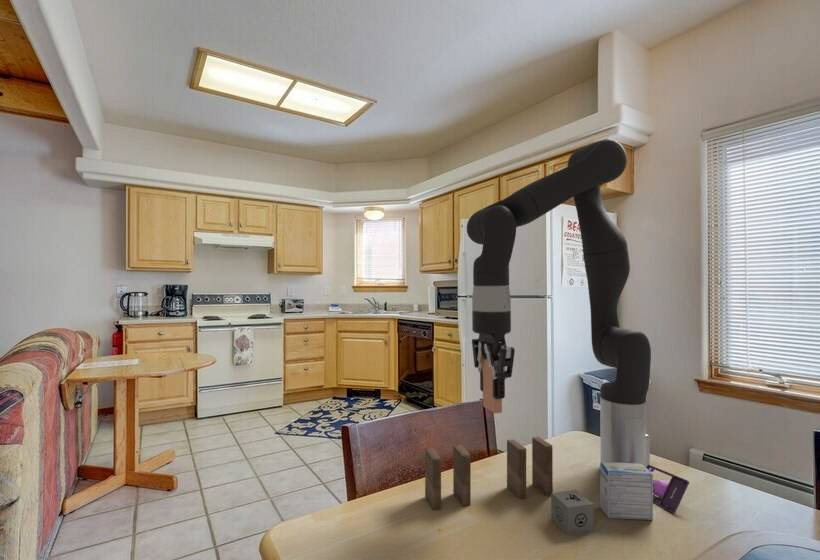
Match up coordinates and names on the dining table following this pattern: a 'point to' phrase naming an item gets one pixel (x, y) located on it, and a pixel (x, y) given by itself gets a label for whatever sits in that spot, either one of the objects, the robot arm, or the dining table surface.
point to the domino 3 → (490, 390)
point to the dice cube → (572, 512)
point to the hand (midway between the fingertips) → (492, 394)
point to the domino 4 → (516, 469)
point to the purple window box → (669, 490)
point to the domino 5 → (542, 465)
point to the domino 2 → (462, 475)
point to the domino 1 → (433, 478)
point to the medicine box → (626, 491)
